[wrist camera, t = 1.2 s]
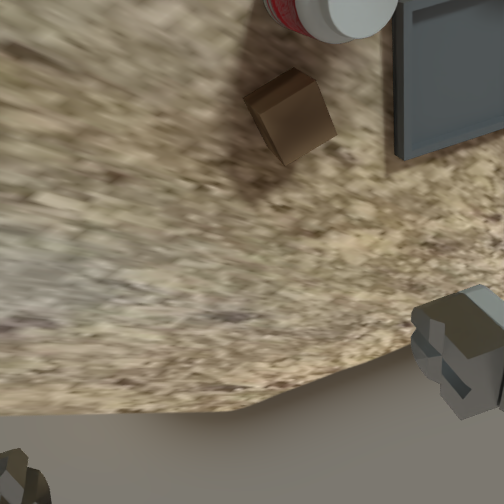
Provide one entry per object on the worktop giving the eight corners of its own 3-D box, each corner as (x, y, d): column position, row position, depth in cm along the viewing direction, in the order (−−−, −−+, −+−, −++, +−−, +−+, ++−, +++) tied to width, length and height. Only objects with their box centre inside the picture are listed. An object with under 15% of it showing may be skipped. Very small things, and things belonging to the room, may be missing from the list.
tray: (391, 0, 38) (403, 2, 37) (538, -41, 40) (554, -41, 39) (394, 154, 47) (404, 160, 45) (515, 114, 48) (529, 120, 47)
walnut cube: (242, 98, 39) (259, 114, 35) (293, 67, 39) (316, 80, 35) (266, 145, 42) (285, 166, 38) (314, 117, 42) (337, 134, 38)
